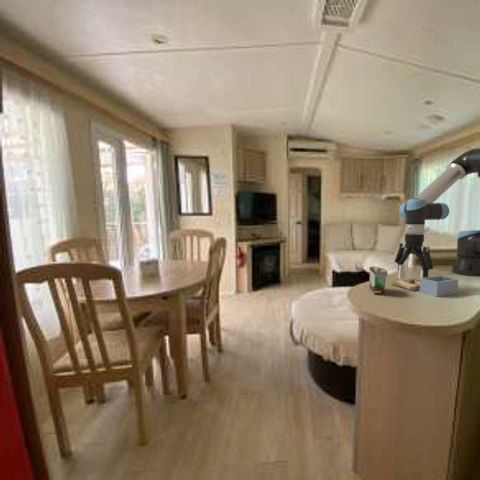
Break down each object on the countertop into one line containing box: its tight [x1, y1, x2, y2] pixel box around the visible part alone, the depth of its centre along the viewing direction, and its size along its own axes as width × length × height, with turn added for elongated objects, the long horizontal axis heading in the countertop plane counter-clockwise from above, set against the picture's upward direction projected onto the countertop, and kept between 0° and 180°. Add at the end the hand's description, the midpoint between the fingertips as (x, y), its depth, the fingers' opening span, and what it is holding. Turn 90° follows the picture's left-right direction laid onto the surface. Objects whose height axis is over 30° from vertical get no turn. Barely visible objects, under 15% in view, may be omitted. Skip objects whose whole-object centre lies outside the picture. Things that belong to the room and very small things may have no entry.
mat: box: [390, 283, 420, 292], centre depth 145 cm, size 12×12×1 cm
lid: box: [391, 278, 420, 290], centre depth 145 cm, size 13×10×2 cm
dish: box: [419, 275, 459, 298], centre depth 135 cm, size 12×8×6 cm, turn 110°
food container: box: [369, 266, 389, 296], centre depth 137 cm, size 12×6×10 cm, turn 168°
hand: (411, 281), depth 145 cm, fingers open, 11 cm apart
